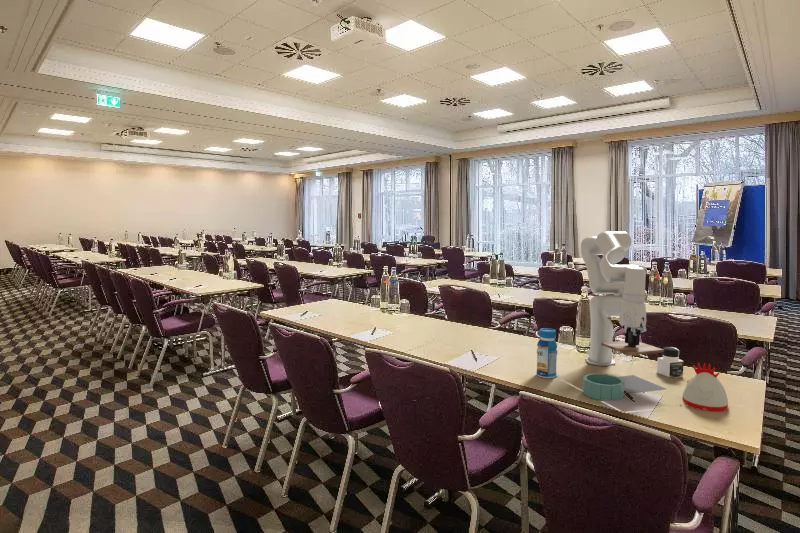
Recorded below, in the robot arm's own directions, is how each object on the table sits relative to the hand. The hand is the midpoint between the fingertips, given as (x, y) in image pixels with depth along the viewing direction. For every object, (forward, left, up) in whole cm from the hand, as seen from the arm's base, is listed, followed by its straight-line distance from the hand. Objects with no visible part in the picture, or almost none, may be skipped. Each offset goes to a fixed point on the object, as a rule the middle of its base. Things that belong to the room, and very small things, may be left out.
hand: (632, 343), depth 194 cm
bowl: (+6, -17, -17) cm, 25 cm away
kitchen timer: (+24, +12, -18) cm, 32 cm away
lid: (0, 0, -2) cm, 2 cm away
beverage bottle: (-20, -25, -17) cm, 37 cm away
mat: (0, +1, -17) cm, 17 cm away
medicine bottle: (-6, +26, -17) cm, 32 cm away
